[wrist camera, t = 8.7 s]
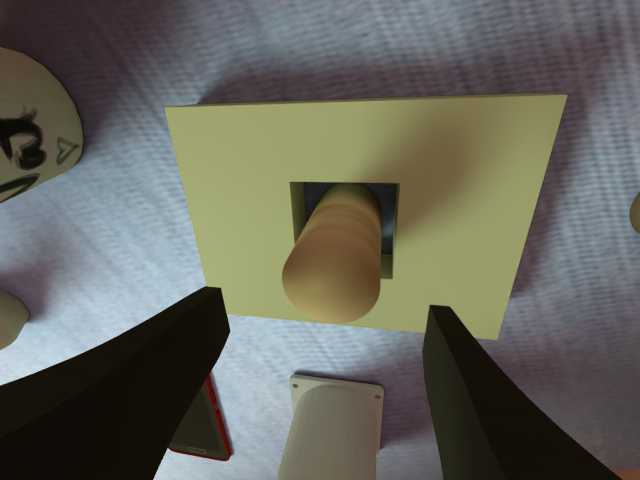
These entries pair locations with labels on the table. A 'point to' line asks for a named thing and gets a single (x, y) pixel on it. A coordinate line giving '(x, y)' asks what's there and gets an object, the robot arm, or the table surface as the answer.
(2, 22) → the table surface
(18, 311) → the salt shaker
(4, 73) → the mug
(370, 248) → the tall peg
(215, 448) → the cell phone
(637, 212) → the short peg
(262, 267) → the hole board
